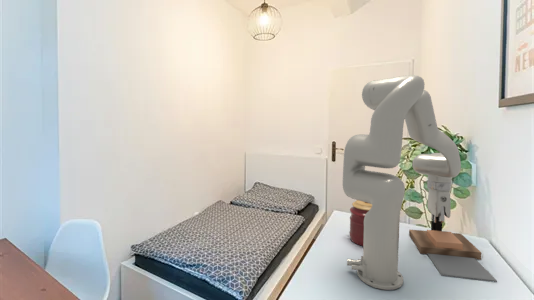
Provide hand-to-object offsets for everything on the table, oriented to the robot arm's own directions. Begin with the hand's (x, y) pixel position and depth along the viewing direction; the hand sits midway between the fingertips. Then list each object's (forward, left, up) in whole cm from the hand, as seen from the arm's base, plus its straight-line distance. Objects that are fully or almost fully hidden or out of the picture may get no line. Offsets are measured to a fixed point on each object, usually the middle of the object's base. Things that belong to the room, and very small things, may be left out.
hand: (436, 231), depth 101 cm
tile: (0, -7, -1) cm, 7 cm away
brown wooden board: (0, -6, -3) cm, 6 cm away
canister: (-26, -6, -4) cm, 27 cm away
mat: (0, -20, -3) cm, 20 cm away
